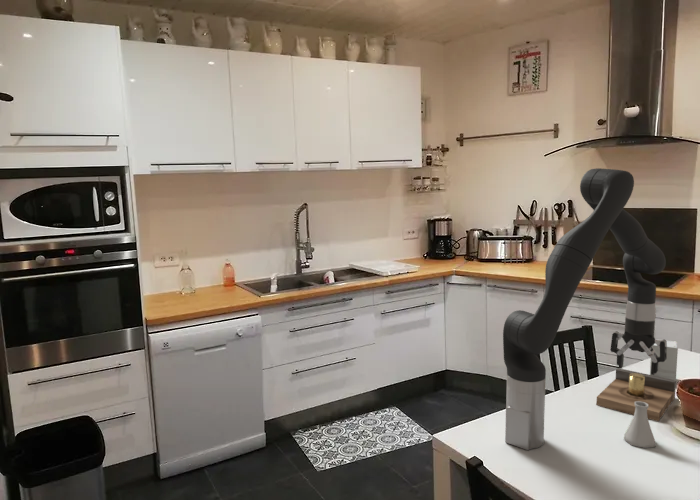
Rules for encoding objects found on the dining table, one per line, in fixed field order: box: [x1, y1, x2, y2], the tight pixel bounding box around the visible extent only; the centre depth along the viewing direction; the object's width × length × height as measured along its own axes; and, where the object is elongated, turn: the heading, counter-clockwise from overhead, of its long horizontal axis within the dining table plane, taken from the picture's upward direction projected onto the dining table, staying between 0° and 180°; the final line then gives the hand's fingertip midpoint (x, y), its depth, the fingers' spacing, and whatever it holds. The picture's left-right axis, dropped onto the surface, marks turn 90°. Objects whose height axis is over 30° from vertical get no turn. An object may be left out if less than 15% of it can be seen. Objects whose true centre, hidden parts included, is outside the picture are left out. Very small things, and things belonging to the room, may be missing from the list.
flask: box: [623, 401, 656, 449], centre depth 128 cm, size 7×7×10 cm
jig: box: [595, 367, 677, 422], centre depth 151 cm, size 20×16×6 cm
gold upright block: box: [628, 373, 645, 397], centre depth 151 cm, size 4×4×8 cm
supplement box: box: [649, 338, 679, 381], centre depth 166 cm, size 7×7×13 cm
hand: (636, 370), depth 150 cm, fingers open, 8 cm apart
